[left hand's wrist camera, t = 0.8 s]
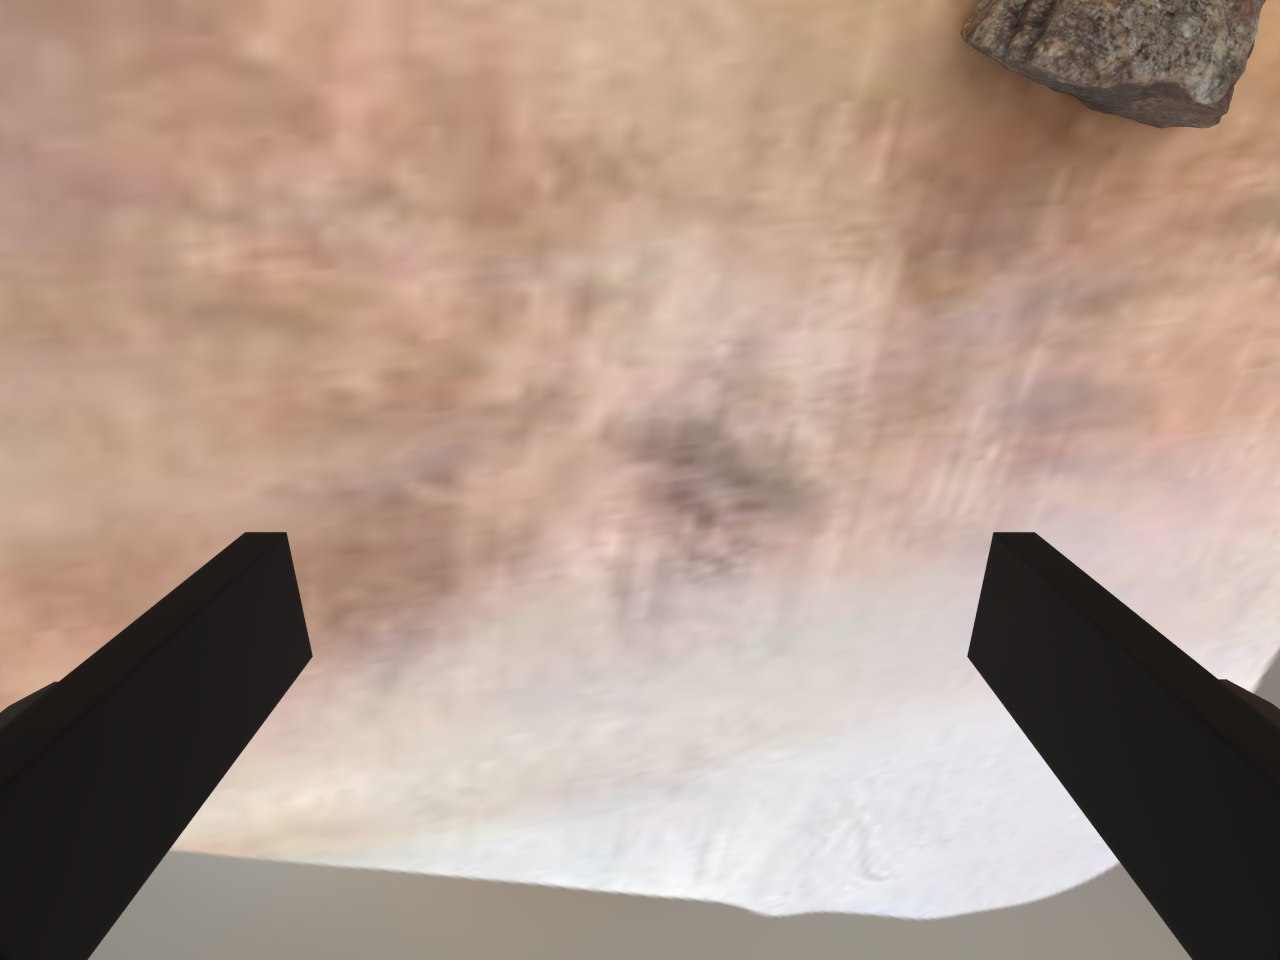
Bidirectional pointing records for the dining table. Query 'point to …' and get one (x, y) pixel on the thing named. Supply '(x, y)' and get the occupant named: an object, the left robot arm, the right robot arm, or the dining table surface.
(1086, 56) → the rock
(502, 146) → the dining table surface
